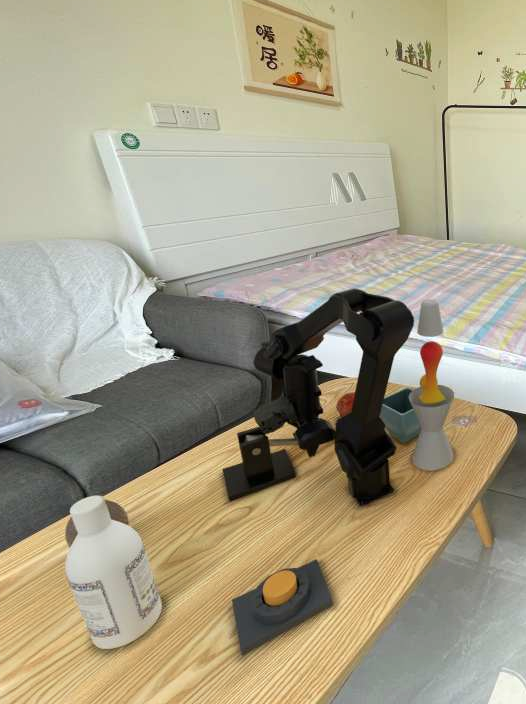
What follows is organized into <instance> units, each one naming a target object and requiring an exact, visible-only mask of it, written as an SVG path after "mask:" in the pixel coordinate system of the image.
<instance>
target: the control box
mask: <svg viewBox="0 0 526 704" xmlns="http://www.w3.org/2000/svg"><path fill="white" fill-rule="evenodd" d="M285 570H288V571H292V572H293V573H294V574H295V576H296V581H297V591H296V593H295V595H294V596H293V597H292V598H291V599H290V600H289V601H288V602H286V603H284V604H282V605H279V606H270V605H268V604H266V602H265V600H264V595H263V586H264V584H265V582H266V581H267V579H268V578H270V577H271V576H272V575H274V574H275V573H277V572H280V571H285ZM326 581H327V580H326V579H325V575H324V574H323V572H322V568H321V566H320V564H319V561H318V559H317V558H316V559H314V560H311V561H309V562H307V563H305V564H303V565H301V566H299V567H290V568H289V567H288V568H282V569H280V570H277V571H275V572H273V573H271V574H269V575H268V576H267V577H265V578H264V579H263V580H262V581H261V582H260V583H259V584H257V586H256V588H253V589H251V590H249V591H247V592H245V593H243V594H241V595H239V596H236V597H234V598H232V599H231V603H232V609H233V614H234V620H235V627H236V631H237V638H238V643H239V649H240V653H241V656H244V655H246V654H248V653H249V652H251V651H253V650H255V649H257V648H259V647H261V646H263V645H264V644H266V643H267V642H268V643H269V642H270V641H271V640H273V639H275V638H277V637H279V636H280V635H282V634H285V633H286V632H287V631H289V630H291V629H293V628H295V627H296V626H299V625H301V624H302V623H304V622H306V621H307V620H310V619H311V618H313V617H314V616H315V617H316V616H317V615H318V614H320V613H322V612H323V611H326V610H327V609H329V608H331V607H333V606H334V601H333V596H332V594H331V592H330V589H329V587H328V583H327V582H326Z"/></svg>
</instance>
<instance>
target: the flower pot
mask: <svg viewBox="0 0 526 704" xmlns="http://www.w3.org/2000/svg"><path fill="white" fill-rule="evenodd" d="M413 390H414V389H413V388H410V387H404V388H402V389H400V390H398V391H395V392H393V393H391V394H389V395H387V396H385V397H384V401H383V405H382V409H381V413H380V417H381V419H382V420H383V422H384V423H385V431H386V432H388V433H389V434H390V436H392V437H394V438H395V439H398V440H399V441H401V442H402V443H407V442H409V441H411V440H412V439H414V438H416V437H419V435H420V432H421V429H422V427H421V425H420V423H419V421H418V418H417V416H416V414H415V412H414V410H413V407H412V405H411V403H410V400H409V394H410V393H411V392H412V391H413Z"/></svg>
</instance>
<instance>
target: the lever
mask: <svg viewBox="0 0 526 704" xmlns="http://www.w3.org/2000/svg"><path fill="white" fill-rule="evenodd" d="M261 437H263V435H246V438H245V441H244V442H248V441H251V440H254V439H258V438H261ZM268 439H269V445H270V447H285V446H286V447H288V446H289V447H290V446H298V444H297V441H296V440H295V438H294V437H292V438H268Z"/></svg>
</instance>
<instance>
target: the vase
mask: <svg viewBox="0 0 526 704" xmlns="http://www.w3.org/2000/svg"><path fill="white" fill-rule="evenodd" d="M105 502H106V505H107V508H108V511H109V514H110V518H111V519H112V520H115V521H118V522H121V523H124V524H126V525H128V526H130V521H129V516H128V513H127V511H126V510H125V508H124V507H123V506H122V505H120V503H118V502H115V501H112V500H108V499H105ZM77 535H78V532H77V530H76V527H75V525H74V522H73V519H72V517H71V516H70V518H69V519H68V522H66V527H65V532H64V537H65V538H64V539H65V541H66V544H67V546H68V547H69V548H68V549H70V547H71V545H72V543H73V542H74V540H75V538H76V536H77Z"/></svg>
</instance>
